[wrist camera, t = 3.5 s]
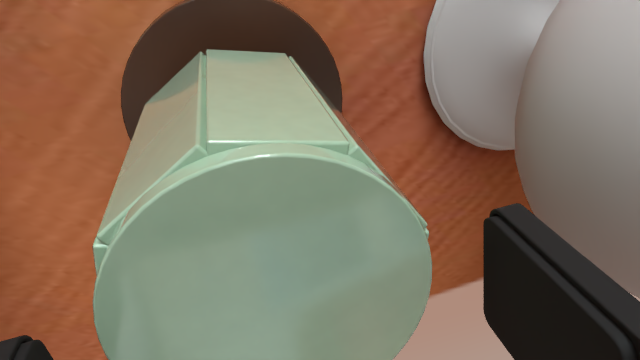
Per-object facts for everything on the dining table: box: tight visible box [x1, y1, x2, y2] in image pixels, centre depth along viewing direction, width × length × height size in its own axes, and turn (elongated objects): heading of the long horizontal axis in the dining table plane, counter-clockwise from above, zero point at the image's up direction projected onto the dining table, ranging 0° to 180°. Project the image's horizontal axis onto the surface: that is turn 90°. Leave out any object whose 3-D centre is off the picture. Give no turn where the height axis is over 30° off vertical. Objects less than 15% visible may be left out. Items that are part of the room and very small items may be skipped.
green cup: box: [92, 49, 432, 360], centre depth 14 cm, size 7×7×9 cm
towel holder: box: [121, 0, 342, 141], centre depth 16 cm, size 10×10×14 cm
